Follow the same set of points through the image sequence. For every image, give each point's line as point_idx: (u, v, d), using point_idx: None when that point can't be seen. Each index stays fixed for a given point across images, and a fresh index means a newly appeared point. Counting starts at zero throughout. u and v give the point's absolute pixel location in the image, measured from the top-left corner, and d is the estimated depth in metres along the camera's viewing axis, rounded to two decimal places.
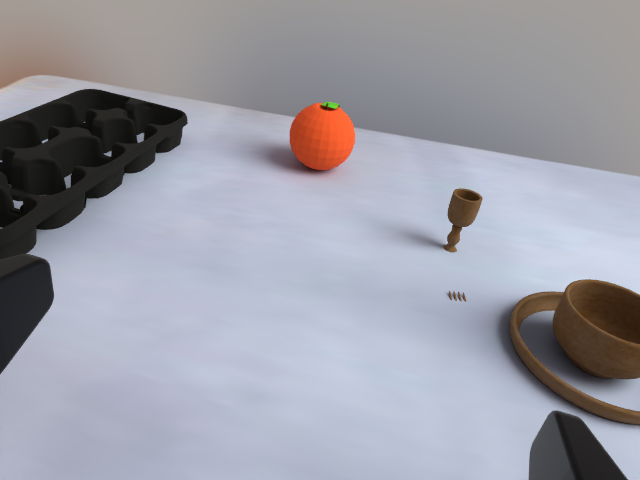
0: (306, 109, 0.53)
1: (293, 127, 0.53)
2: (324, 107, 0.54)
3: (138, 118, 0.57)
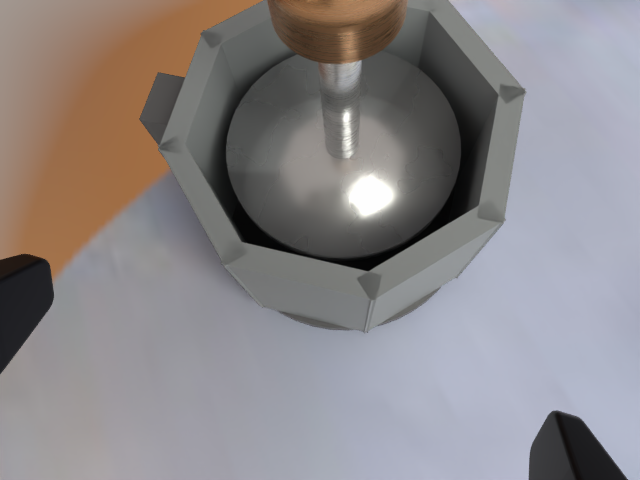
0: None
1: None
2: None
3: None
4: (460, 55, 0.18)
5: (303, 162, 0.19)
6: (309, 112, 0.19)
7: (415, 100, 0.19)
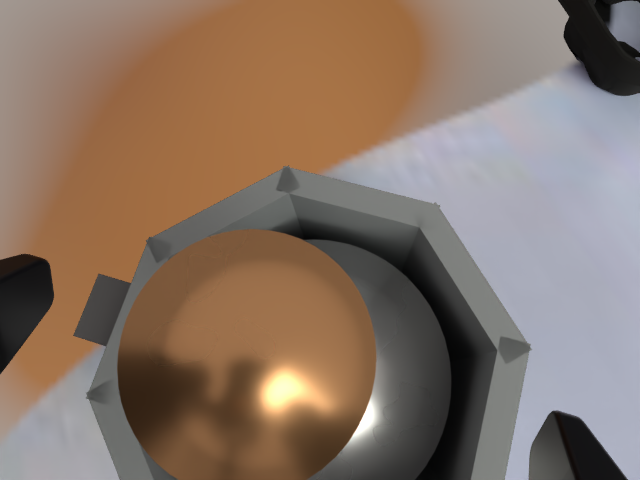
0: None
1: None
2: None
3: None
4: (454, 286, 0.15)
5: None
6: None
7: (400, 320, 0.16)
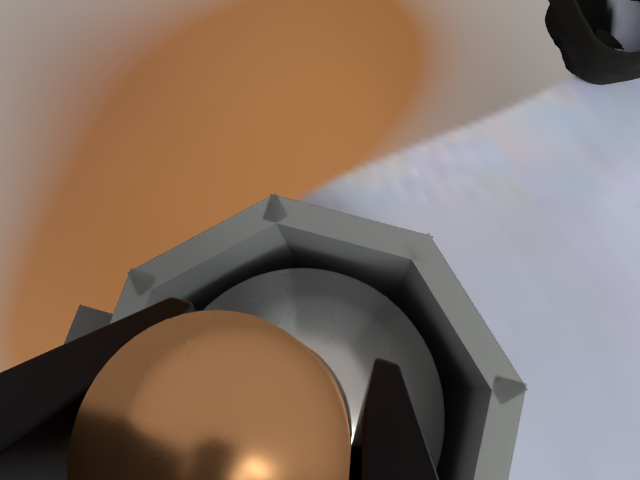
0: None
1: None
2: None
3: None
4: (447, 321, 0.14)
5: None
6: None
7: (392, 353, 0.15)
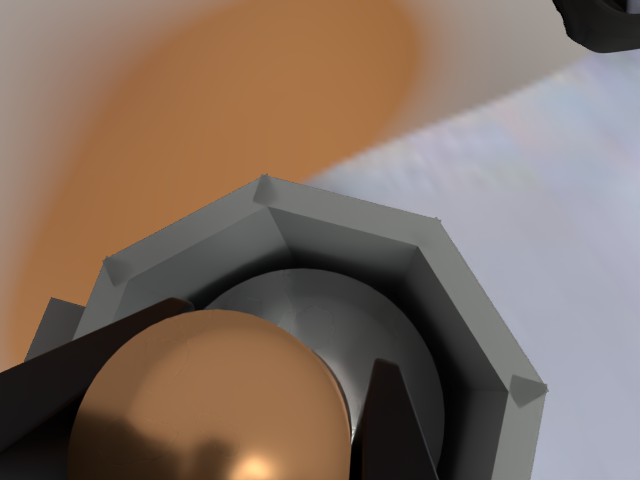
0: None
1: None
2: None
3: None
4: (458, 315, 0.13)
5: None
6: None
7: (391, 353, 0.15)
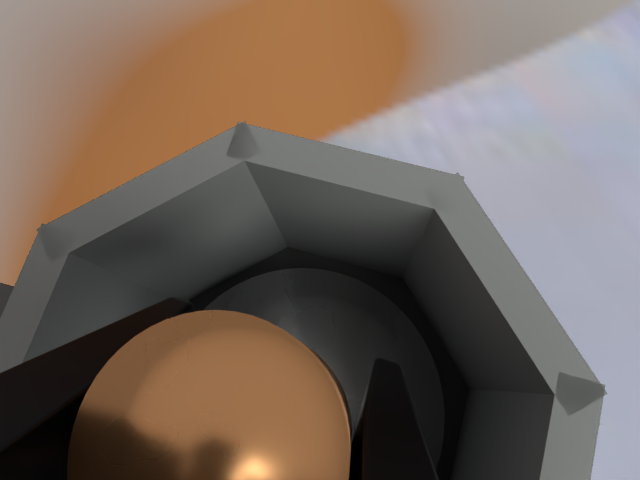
0: None
1: None
2: None
3: None
4: (486, 296, 0.10)
5: None
6: None
7: (392, 353, 0.15)
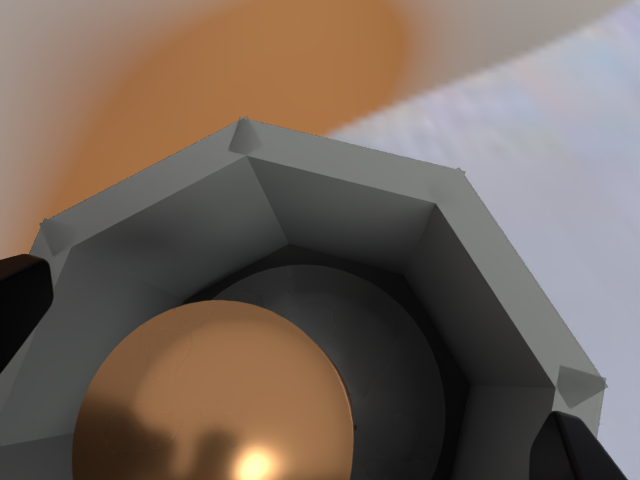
0: None
1: None
2: None
3: None
4: (487, 290, 0.10)
5: None
6: None
7: (393, 349, 0.16)
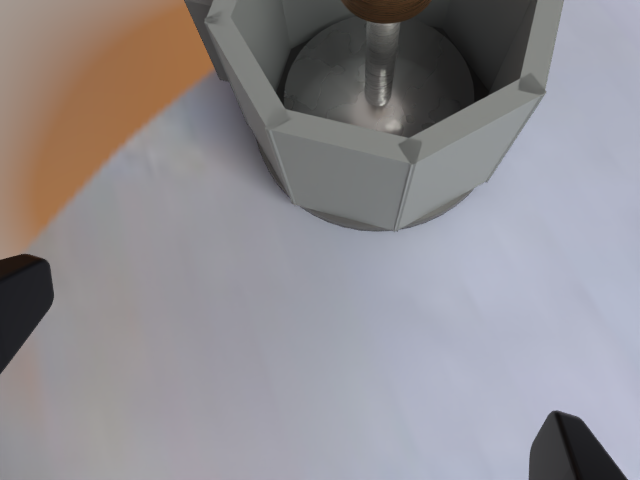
0: None
1: None
2: None
3: None
4: None
5: (345, 108, 0.23)
6: (351, 68, 0.24)
7: (438, 60, 0.23)
